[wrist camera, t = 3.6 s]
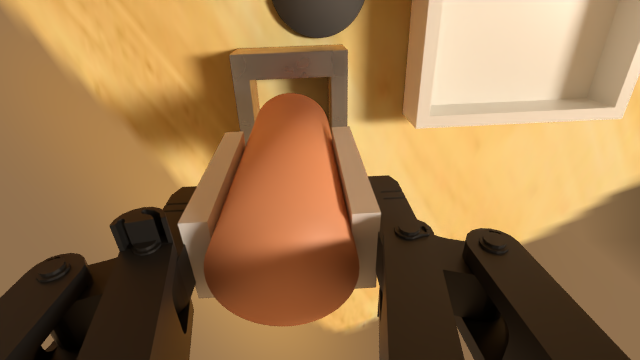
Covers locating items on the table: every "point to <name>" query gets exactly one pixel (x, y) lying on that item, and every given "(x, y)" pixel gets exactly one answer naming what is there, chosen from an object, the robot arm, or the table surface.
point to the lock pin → (284, 222)
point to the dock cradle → (520, 61)
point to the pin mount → (289, 65)
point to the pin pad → (318, 15)
